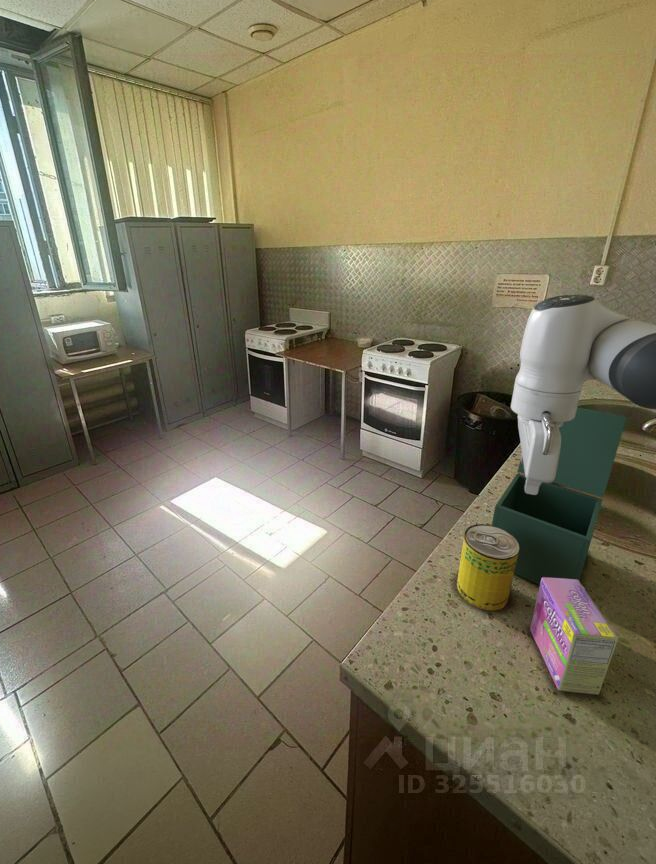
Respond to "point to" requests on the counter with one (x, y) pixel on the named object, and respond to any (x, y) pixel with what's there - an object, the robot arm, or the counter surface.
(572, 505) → the chest
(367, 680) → the counter surface
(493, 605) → the yellow tin can
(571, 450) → the lid
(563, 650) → the box
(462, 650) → the counter surface
